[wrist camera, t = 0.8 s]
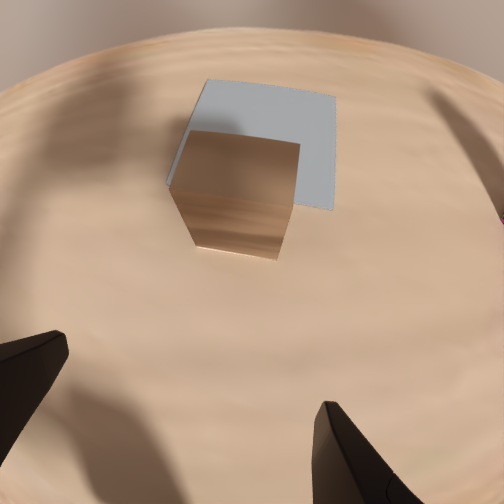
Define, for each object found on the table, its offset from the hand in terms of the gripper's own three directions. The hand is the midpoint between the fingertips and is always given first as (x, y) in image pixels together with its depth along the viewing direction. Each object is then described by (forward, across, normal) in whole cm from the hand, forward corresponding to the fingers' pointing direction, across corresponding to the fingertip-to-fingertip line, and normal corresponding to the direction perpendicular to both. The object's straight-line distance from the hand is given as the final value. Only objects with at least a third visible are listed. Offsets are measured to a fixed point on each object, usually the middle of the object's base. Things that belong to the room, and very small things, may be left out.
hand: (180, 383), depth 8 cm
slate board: (+25, +1, -10) cm, 27 cm away
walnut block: (+19, +1, -1) cm, 19 cm away
